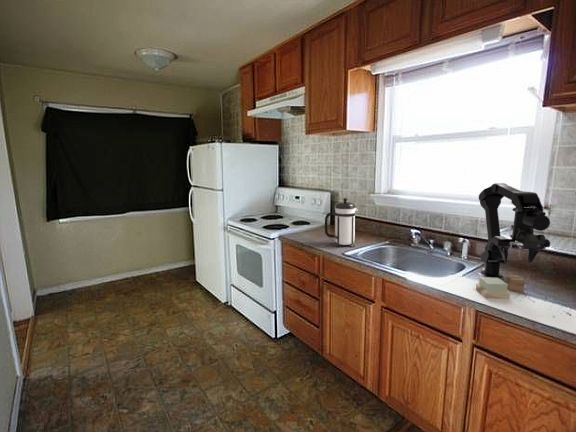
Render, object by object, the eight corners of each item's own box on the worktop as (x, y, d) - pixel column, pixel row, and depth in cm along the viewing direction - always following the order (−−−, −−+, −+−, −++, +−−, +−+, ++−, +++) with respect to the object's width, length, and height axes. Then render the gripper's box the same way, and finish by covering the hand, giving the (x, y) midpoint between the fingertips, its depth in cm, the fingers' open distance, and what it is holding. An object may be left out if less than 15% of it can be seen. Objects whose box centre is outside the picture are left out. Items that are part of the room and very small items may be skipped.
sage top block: (479, 284, 130) (479, 277, 129) (497, 284, 129) (498, 277, 128) (487, 291, 123) (488, 283, 122) (507, 291, 122) (507, 284, 122)
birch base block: (475, 290, 131) (476, 283, 131) (497, 290, 130) (498, 284, 130) (485, 299, 123) (486, 291, 122) (509, 300, 122) (509, 292, 121)
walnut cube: (503, 286, 134) (504, 275, 133) (516, 286, 133) (517, 275, 132) (510, 291, 129) (511, 279, 128) (523, 291, 128) (525, 279, 127)
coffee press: (343, 240, 212) (343, 195, 207) (361, 245, 199) (362, 198, 194) (323, 244, 203) (323, 198, 197) (341, 250, 190) (342, 200, 184)
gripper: (507, 229, 118) (502, 268, 121) (563, 229, 115) (556, 270, 119) (493, 222, 129) (488, 258, 132) (543, 222, 126) (538, 259, 129)
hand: (517, 262), depth 128 cm, fingers open, 9 cm apart
